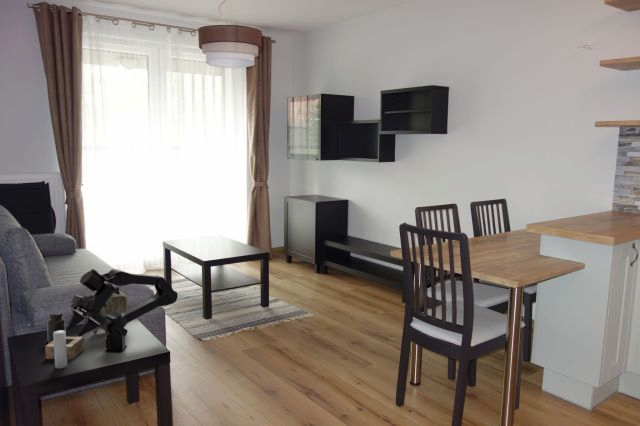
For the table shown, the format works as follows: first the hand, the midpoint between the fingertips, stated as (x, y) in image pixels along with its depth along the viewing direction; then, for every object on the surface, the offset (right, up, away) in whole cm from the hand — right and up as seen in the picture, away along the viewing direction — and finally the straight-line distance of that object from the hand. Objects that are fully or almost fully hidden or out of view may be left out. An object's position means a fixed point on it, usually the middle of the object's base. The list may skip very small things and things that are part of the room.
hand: (73, 332), depth 192 cm
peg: (-3, -12, -2) cm, 12 cm away
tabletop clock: (+1, -7, +32) cm, 33 cm away
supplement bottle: (-17, -9, +22) cm, 29 cm away
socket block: (-7, -10, +9) cm, 15 cm away
